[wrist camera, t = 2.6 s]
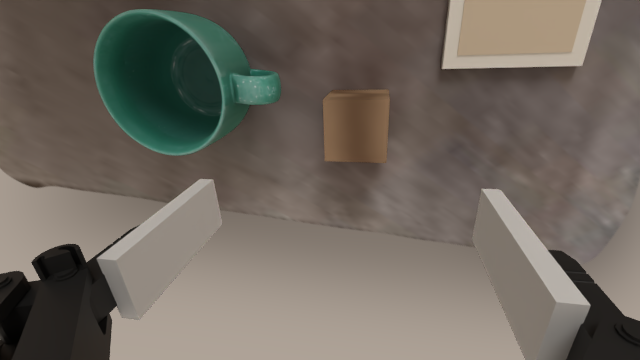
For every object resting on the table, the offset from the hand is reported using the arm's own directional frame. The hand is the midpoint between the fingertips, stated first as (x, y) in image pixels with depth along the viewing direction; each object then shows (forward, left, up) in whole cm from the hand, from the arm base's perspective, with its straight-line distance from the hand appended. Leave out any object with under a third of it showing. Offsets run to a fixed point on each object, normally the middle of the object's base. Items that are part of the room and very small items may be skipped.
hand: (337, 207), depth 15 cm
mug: (-15, +4, -21) cm, 26 cm away
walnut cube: (0, 0, -21) cm, 21 cm away
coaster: (+14, +11, -21) cm, 27 cm away
